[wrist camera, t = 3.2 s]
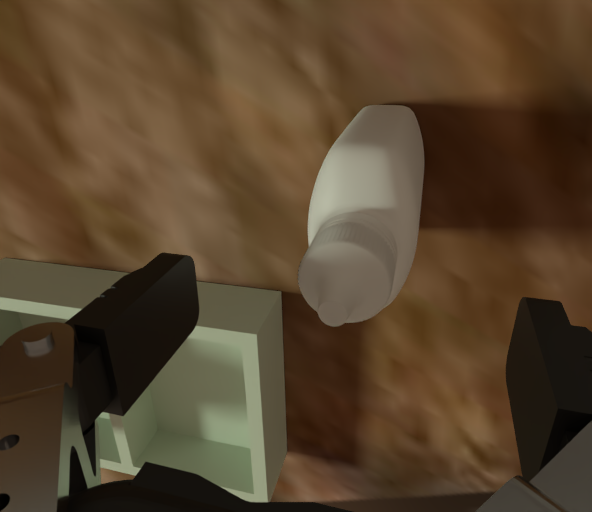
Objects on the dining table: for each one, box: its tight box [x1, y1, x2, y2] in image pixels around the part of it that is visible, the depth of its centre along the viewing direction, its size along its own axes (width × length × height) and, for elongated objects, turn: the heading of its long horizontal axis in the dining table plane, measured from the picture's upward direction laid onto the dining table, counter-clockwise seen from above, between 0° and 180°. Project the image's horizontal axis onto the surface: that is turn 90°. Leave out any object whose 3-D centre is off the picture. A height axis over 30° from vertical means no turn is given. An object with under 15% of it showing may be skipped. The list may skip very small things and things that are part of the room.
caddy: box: [0, 258, 287, 502], centre depth 25 cm, size 12×18×12 cm, turn 91°
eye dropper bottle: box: [298, 105, 424, 327], centre depth 16 cm, size 4×6×12 cm
